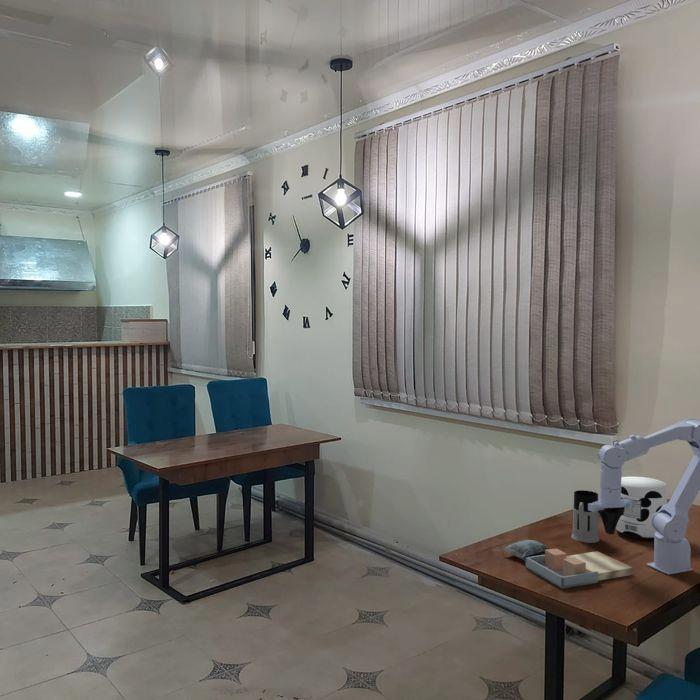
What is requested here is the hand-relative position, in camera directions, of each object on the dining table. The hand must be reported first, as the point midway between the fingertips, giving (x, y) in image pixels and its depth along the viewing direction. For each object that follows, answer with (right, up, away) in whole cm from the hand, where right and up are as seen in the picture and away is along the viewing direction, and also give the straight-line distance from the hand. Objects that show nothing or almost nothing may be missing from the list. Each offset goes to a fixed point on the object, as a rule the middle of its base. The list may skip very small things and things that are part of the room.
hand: (609, 533), depth 187 cm
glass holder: (+1, -9, +23) cm, 25 cm away
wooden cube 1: (-14, -7, -1) cm, 16 cm away
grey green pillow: (-22, -10, +9) cm, 26 cm away
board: (-4, -10, -1) cm, 11 cm away
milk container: (+22, -9, +29) cm, 38 cm away
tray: (-16, -10, -6) cm, 20 cm away
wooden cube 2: (-12, -7, -8) cm, 16 cm away
